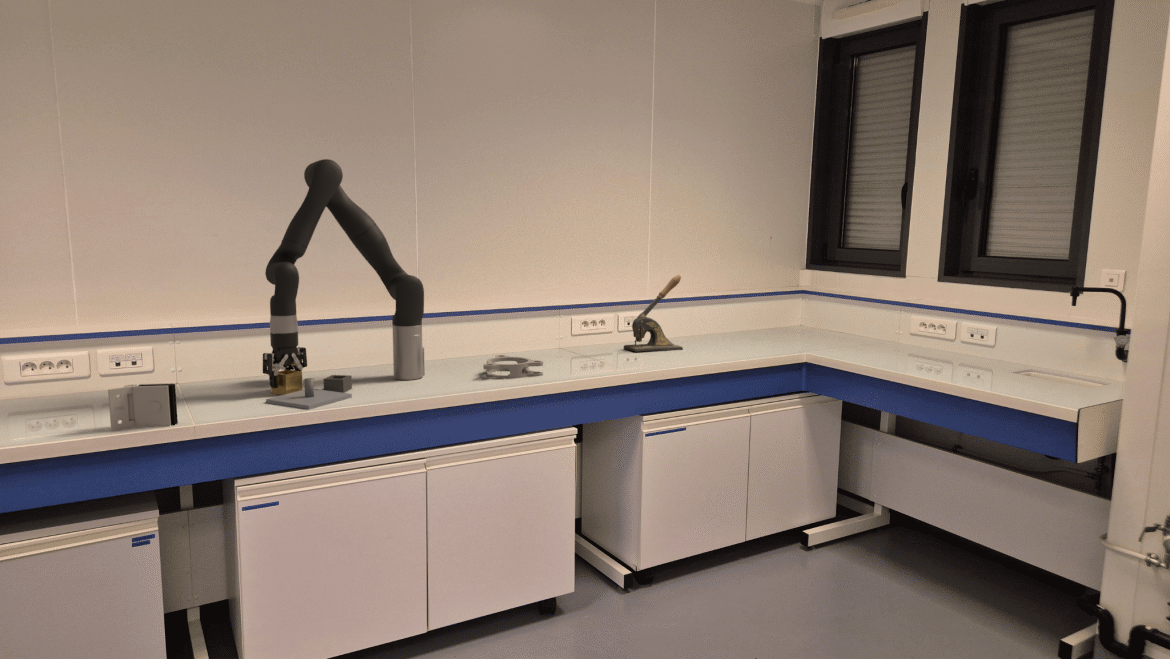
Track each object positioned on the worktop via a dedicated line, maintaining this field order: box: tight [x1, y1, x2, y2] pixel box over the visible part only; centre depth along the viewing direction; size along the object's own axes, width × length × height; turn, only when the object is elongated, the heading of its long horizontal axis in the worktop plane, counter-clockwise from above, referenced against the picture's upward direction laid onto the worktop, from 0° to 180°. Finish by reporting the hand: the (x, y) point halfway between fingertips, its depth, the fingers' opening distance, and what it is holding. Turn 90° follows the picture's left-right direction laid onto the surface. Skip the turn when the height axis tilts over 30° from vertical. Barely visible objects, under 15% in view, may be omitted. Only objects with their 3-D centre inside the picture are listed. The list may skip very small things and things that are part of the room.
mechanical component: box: [482, 354, 544, 380], centre depth 253 cm, size 20×19×5 cm
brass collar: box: [270, 369, 304, 396], centre depth 220 cm, size 6×6×6 cm
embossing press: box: [622, 274, 684, 353], centre depth 302 cm, size 11×24×30 cm, turn 113°
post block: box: [265, 377, 353, 410], centre depth 211 cm, size 16×16×6 cm
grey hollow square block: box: [323, 374, 353, 393], centre depth 224 cm, size 6×6×4 cm
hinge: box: [107, 382, 179, 432], centre depth 183 cm, size 14×5×10 cm, turn 113°
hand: (286, 385), depth 220 cm, fingers open, 8 cm apart
